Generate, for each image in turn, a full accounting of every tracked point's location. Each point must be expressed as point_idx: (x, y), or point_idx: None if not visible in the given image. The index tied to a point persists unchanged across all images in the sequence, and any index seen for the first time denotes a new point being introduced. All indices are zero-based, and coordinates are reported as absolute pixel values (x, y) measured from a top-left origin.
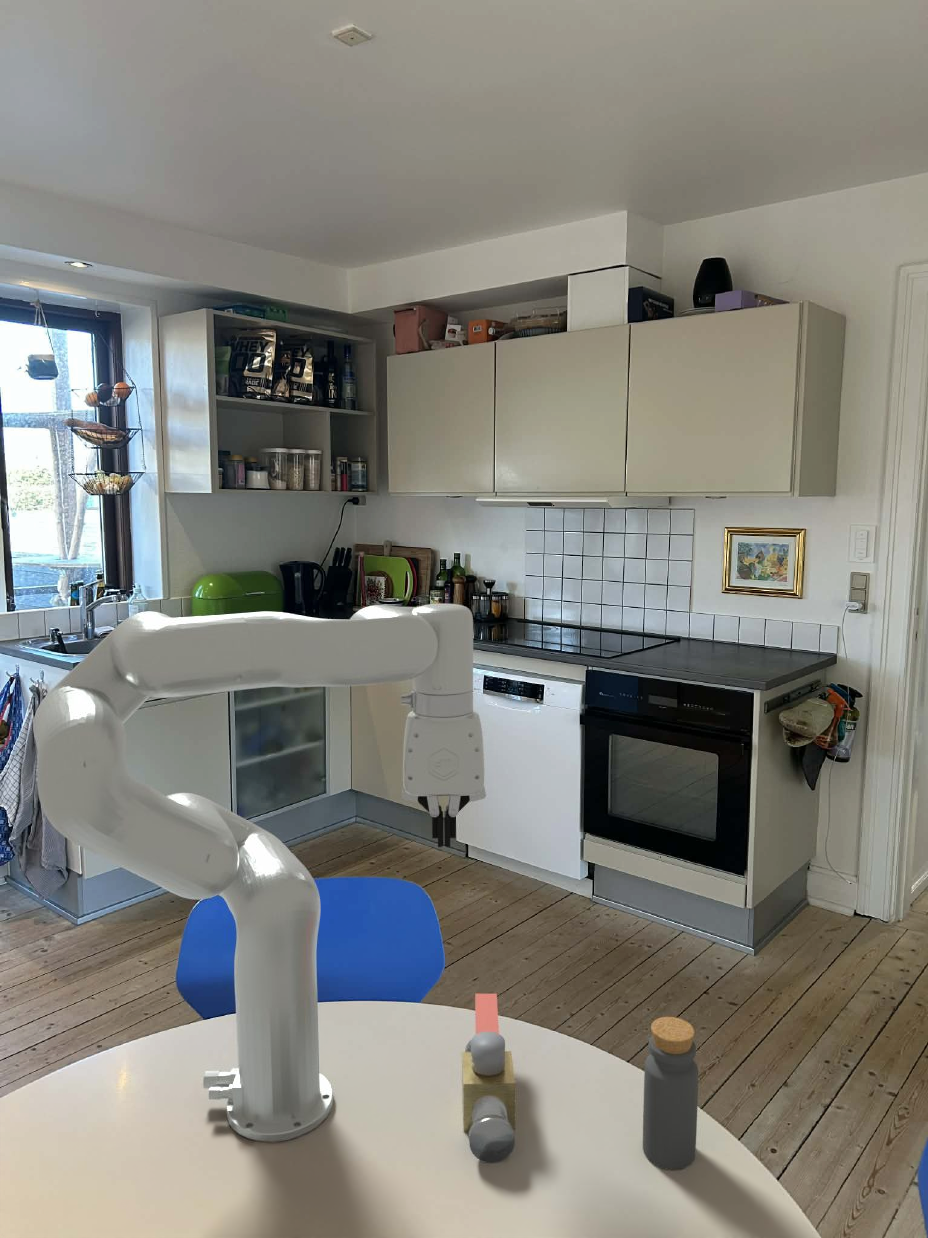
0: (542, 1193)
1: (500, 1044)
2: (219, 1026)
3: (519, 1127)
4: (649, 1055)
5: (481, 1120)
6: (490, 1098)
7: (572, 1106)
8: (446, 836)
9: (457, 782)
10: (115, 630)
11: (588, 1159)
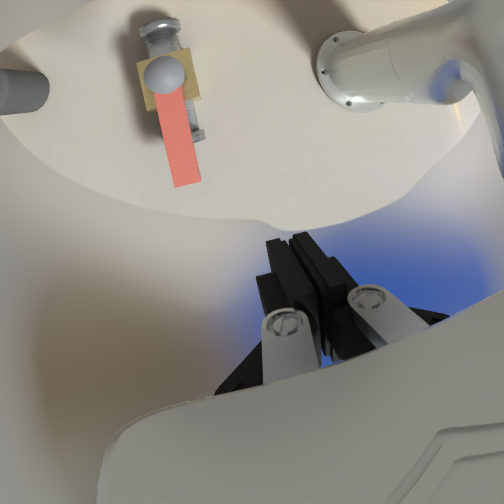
0: (120, 16)
1: (147, 72)
2: (424, 172)
3: None
4: (4, 95)
5: (166, 22)
6: (162, 53)
7: (101, 116)
8: (286, 252)
9: (310, 469)
10: None
11: (86, 60)
